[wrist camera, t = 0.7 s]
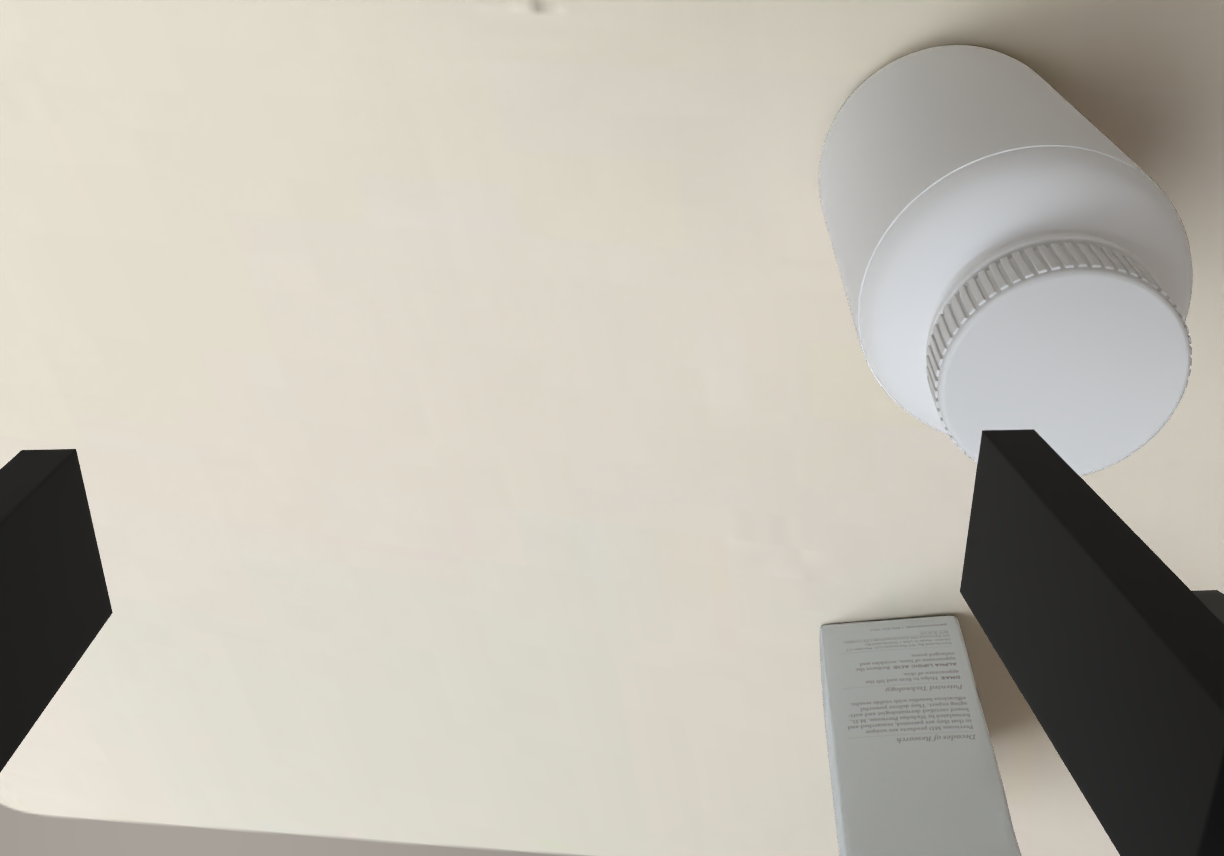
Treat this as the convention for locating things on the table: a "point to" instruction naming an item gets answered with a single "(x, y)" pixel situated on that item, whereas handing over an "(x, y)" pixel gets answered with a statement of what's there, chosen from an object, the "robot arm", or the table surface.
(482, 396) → the table surface
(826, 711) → the cosmetic box
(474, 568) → the table surface
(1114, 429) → the pill bottle
